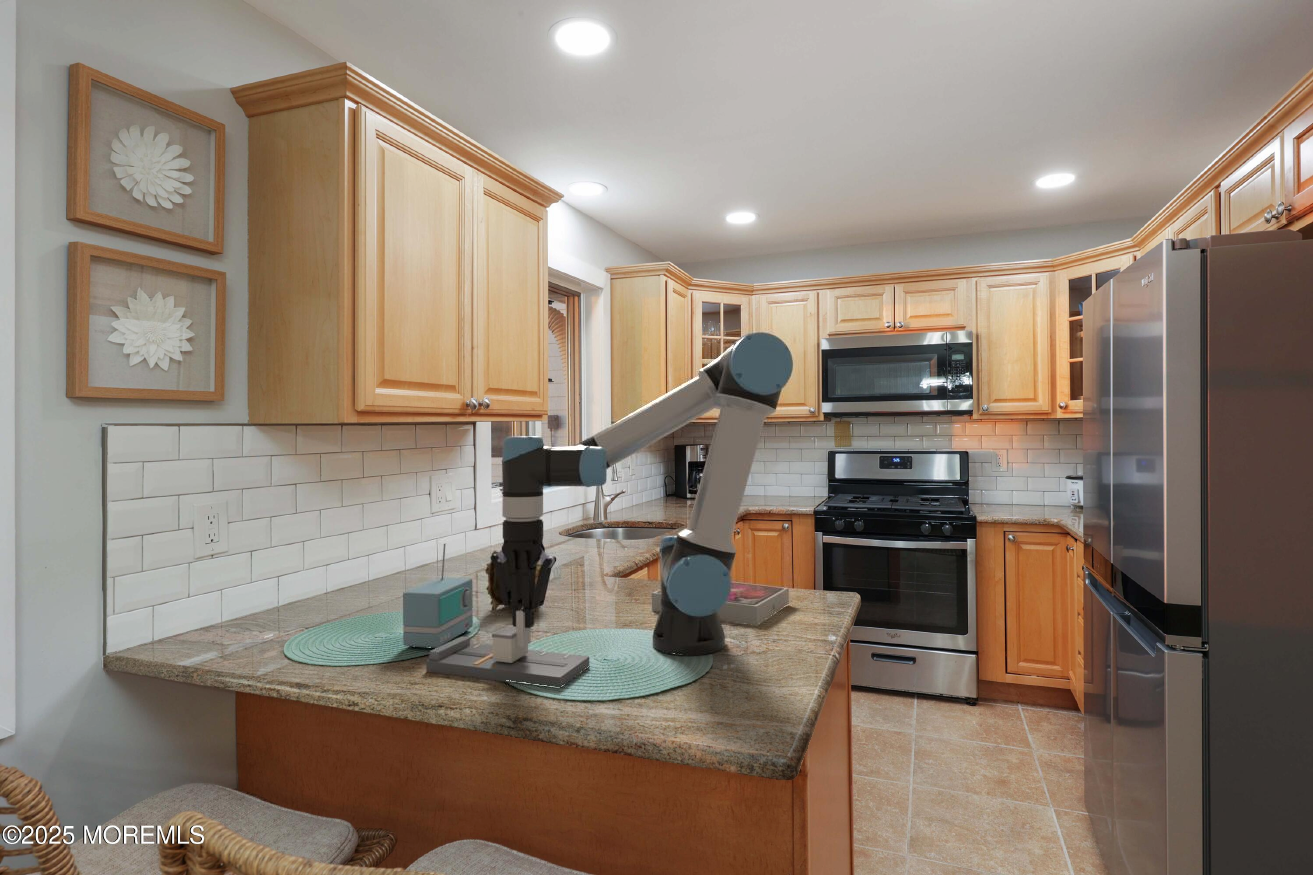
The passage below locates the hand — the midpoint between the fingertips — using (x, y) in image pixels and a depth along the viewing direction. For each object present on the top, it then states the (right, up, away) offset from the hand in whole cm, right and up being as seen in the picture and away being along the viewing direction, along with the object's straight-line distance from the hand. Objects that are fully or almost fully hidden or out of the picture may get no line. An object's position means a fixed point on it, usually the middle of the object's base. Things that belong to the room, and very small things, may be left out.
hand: (523, 644), depth 129 cm
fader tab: (-3, -3, +1) cm, 4 cm away
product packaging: (+41, -5, +46) cm, 62 cm away
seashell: (-11, -5, +46) cm, 48 cm away
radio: (-22, -5, +21) cm, 30 cm away
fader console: (-3, -5, +1) cm, 6 cm away
